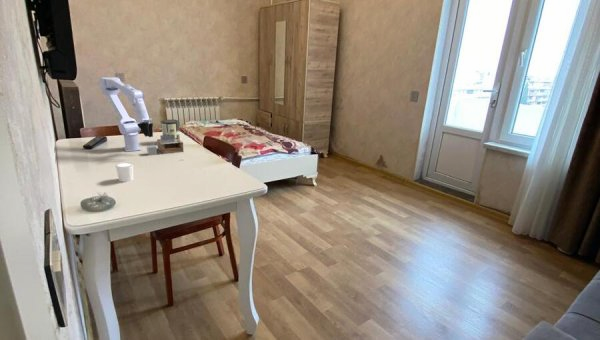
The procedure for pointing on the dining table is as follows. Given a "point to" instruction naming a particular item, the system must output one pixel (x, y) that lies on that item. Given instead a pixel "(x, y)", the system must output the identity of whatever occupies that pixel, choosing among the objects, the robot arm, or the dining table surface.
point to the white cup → (125, 172)
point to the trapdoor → (168, 139)
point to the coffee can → (170, 128)
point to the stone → (151, 150)
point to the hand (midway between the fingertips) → (149, 136)
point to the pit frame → (170, 147)
